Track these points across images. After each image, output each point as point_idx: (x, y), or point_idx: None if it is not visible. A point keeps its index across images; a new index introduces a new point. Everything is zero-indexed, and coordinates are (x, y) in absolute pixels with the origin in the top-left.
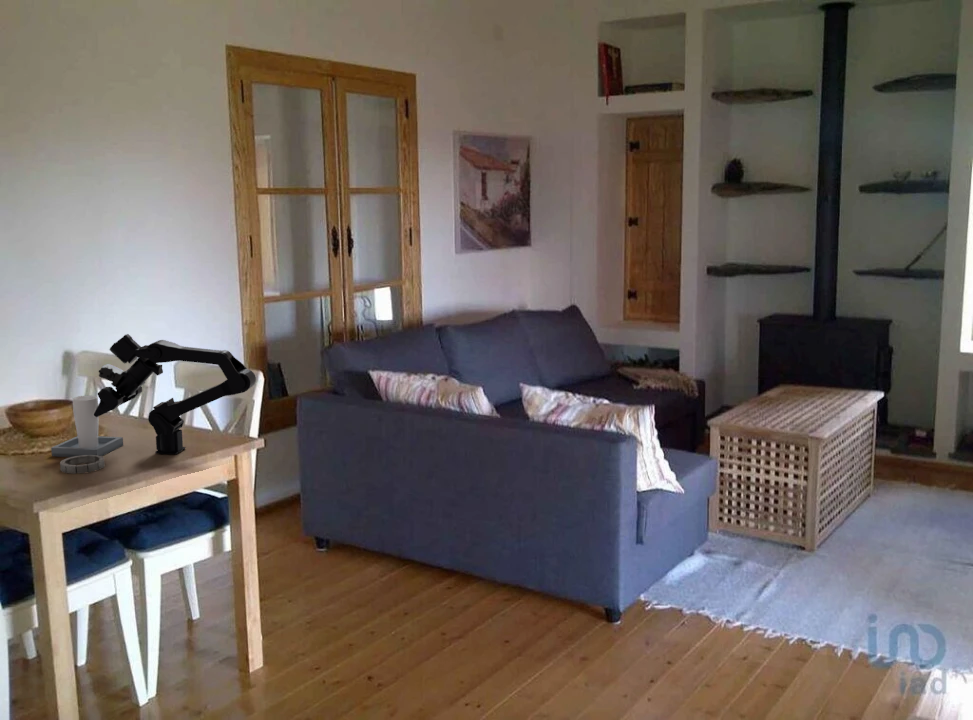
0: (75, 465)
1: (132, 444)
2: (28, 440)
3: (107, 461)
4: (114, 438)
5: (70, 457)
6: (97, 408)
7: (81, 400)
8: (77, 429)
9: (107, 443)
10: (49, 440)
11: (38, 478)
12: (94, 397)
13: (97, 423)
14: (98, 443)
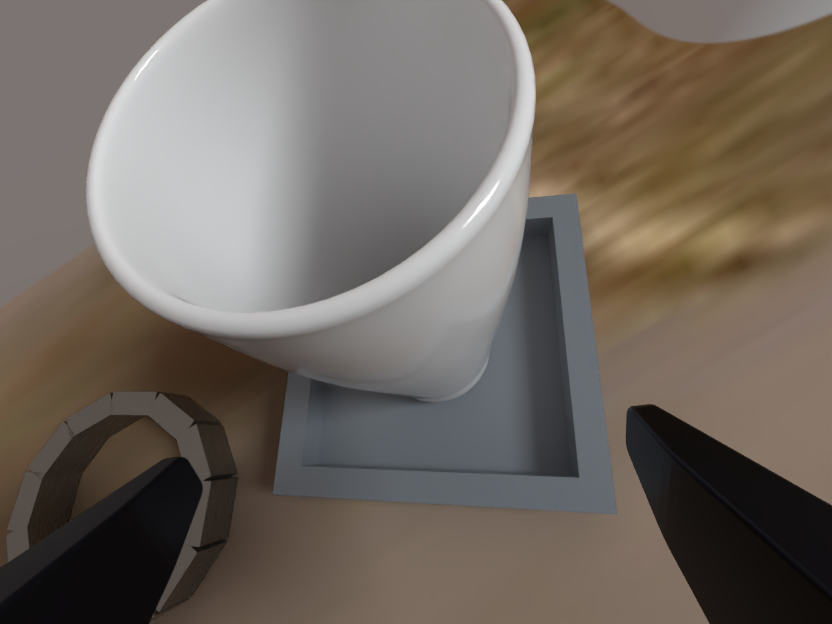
0: (23, 520)
1: (647, 562)
2: (552, 3)
3: (243, 586)
4: (577, 455)
5: (167, 404)
6: (7, 576)
7: (87, 177)
8: (347, 274)
9: (425, 484)
10: (578, 68)
11: (20, 387)
12: (496, 178)
13: (412, 394)
14: (542, 347)
